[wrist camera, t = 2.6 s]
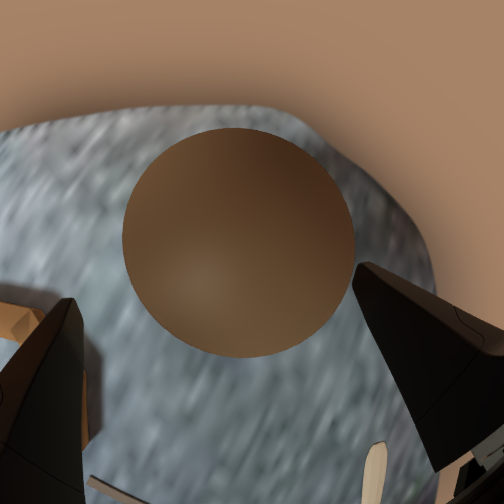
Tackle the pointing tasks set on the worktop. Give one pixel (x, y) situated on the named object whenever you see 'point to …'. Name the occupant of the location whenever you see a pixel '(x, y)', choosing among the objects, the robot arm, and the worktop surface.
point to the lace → (112, 491)
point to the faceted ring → (19, 328)
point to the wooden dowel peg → (238, 242)
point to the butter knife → (374, 474)
